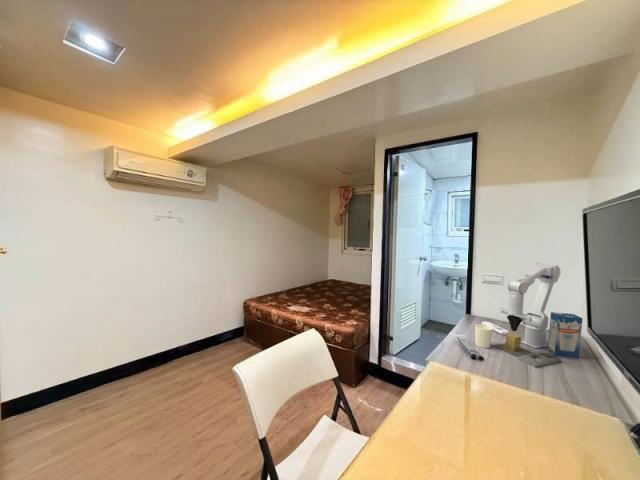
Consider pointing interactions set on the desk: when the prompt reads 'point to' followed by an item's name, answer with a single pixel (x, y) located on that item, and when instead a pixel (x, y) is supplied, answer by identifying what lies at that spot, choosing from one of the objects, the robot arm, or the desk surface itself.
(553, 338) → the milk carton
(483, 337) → the white cup
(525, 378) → the desk surface
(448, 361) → the desk surface
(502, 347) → the mat
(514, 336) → the brass rectangular block
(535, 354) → the grey plate with hole
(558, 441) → the desk surface
